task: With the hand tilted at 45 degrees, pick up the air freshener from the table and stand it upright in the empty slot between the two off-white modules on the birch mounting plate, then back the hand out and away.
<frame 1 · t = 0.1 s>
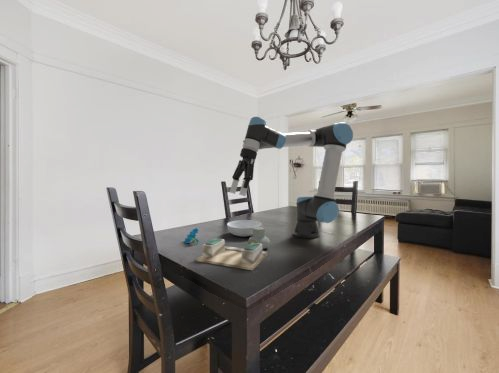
hand: (236, 194, 106), 28 cm above the table, tool tilted 20°, fingers open, 13 cm apart
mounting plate: (232, 257, 102), on the table
serving bowl: (244, 235, 141), on the table
air freshener: (259, 248, 116), on the table
gear: (191, 243, 126), on the table
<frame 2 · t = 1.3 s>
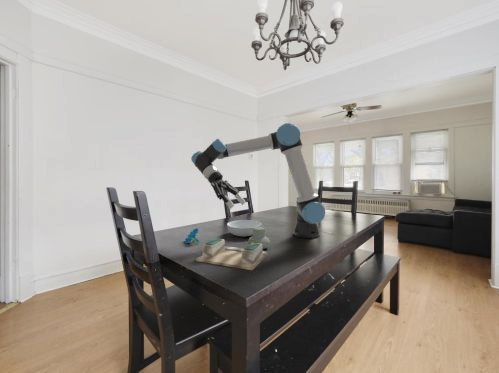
hand: (238, 205, 119), 21 cm above the table, tool tilted 45°, fingers open, 13 cm apart
nothing on the table moved.
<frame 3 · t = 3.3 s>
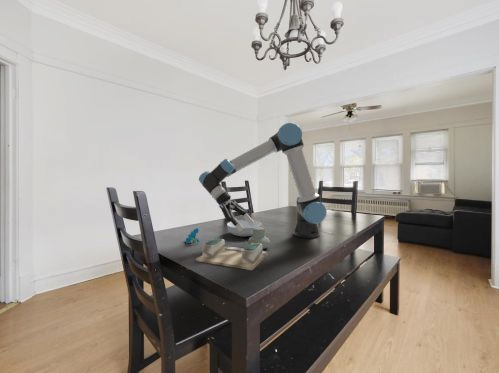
hand: (247, 226, 117), 10 cm above the table, tool tilted 45°, fingers open, 13 cm apart
nothing on the table moved.
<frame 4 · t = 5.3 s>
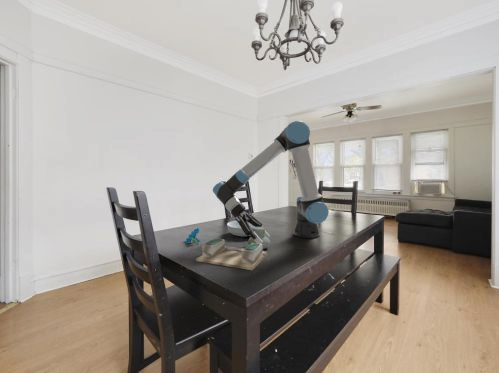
hand: (264, 240, 114), 4 cm above the table, tool tilted 45°, fingers open, 10 cm apart
air freshener: (259, 248, 116), on the table, touching gripper
everything else where it was.
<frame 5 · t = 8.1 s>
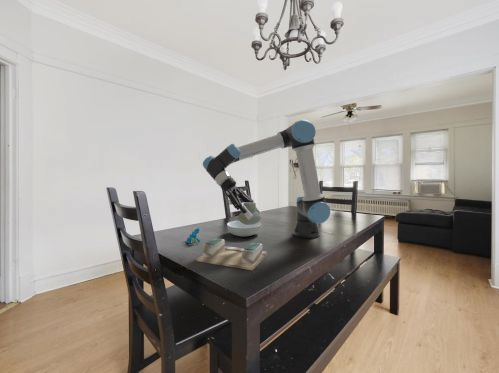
hand: (255, 216, 110), 17 cm above the table, tool tilted 45°, fingers closed on air freshener, 10 cm apart
air freshener: (249, 224, 112), point 13 cm above the table, touching gripper
everything else where it was.
when the fingers open (6 cm above the table, at t = 10.9 s): air freshener stays where it is, resting on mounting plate.
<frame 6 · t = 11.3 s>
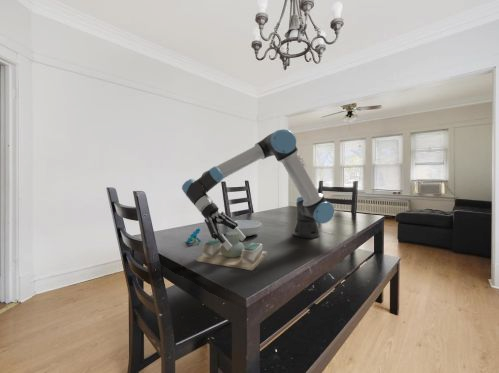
hand: (237, 243, 101), 7 cm above the table, tool tilted 45°, fingers open, 13 cm apart
air freshener: (232, 255, 103), point 1 cm above the table, touching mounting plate
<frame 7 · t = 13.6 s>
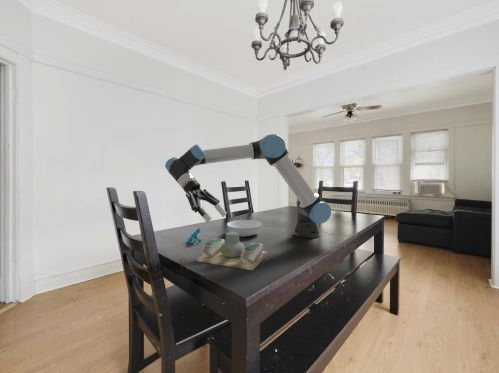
hand: (217, 217, 105), 17 cm above the table, tool tilted 45°, fingers open, 13 cm apart
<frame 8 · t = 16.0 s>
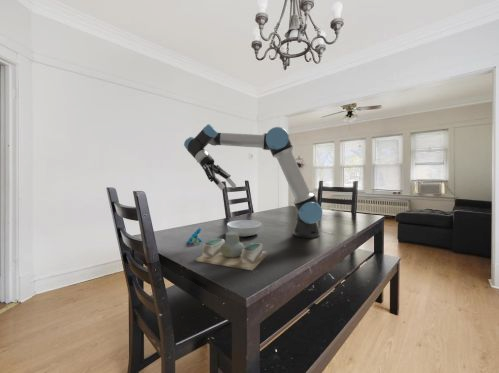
hand: (229, 187, 124), 30 cm above the table, tool tilted 45°, fingers open, 13 cm apart
at the end: air freshener inside the target area on the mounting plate (0.2 cm from its centre), point 0.8 cm above the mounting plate's base; air freshener tilted 0°; the gripper is holding nothing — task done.
